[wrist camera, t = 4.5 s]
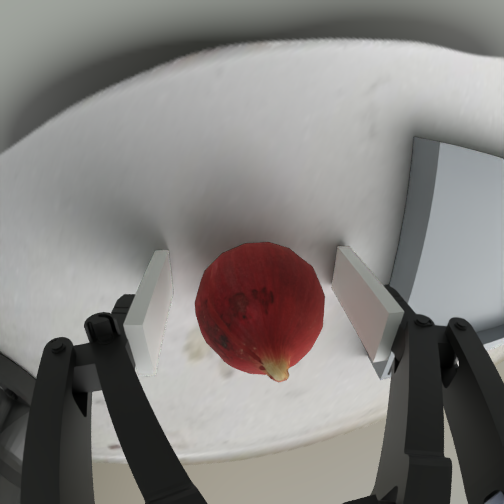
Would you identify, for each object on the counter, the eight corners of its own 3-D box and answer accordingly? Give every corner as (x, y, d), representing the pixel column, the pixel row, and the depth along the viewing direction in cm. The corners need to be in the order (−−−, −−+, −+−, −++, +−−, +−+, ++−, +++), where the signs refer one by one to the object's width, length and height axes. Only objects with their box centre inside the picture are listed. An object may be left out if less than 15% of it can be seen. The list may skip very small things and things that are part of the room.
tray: (368, 357, 21) (380, 379, 19) (413, 136, 15) (440, 142, 12) (506, 324, 23) (520, 338, 21) (551, 175, 16) (570, 183, 14)
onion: (191, 299, 18) (177, 410, 11) (215, 207, 16) (209, 290, 8) (283, 318, 19) (313, 423, 12) (318, 235, 17) (381, 324, 10)
